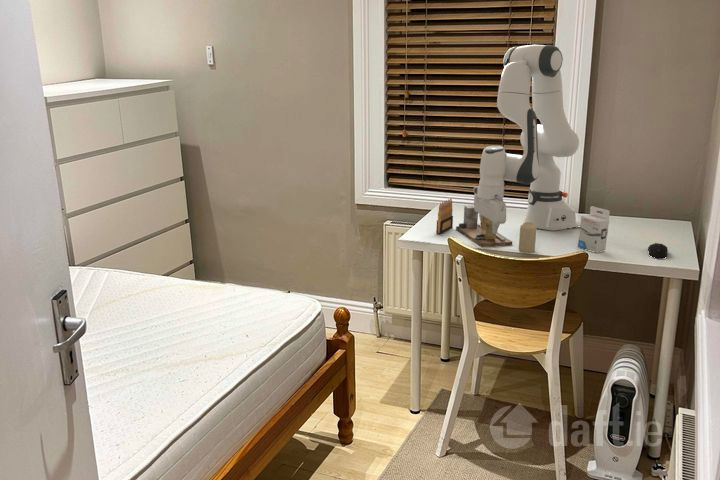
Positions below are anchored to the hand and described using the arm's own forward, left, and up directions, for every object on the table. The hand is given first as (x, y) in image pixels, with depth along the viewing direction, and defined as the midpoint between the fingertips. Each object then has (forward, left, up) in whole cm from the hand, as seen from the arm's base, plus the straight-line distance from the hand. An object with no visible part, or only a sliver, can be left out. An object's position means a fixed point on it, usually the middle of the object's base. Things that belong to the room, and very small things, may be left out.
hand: (488, 229), depth 249 cm
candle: (-9, +12, -5) cm, 16 cm away
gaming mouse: (-51, +27, -5) cm, 58 cm away
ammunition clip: (+10, -18, -5) cm, 21 cm away
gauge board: (-1, -7, -5) cm, 8 cm away
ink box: (-32, +16, -5) cm, 36 cm away
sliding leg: (+1, 0, -3) cm, 3 cm away
